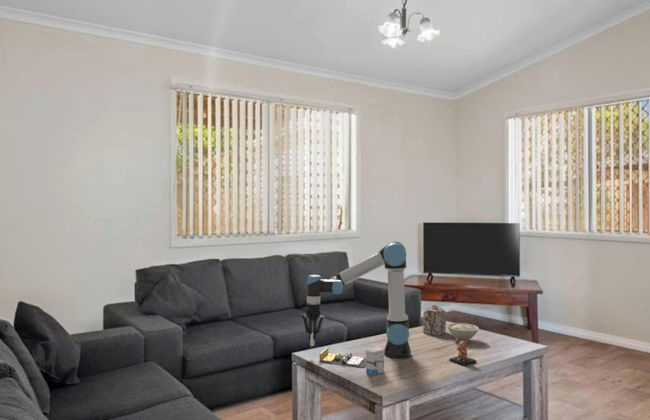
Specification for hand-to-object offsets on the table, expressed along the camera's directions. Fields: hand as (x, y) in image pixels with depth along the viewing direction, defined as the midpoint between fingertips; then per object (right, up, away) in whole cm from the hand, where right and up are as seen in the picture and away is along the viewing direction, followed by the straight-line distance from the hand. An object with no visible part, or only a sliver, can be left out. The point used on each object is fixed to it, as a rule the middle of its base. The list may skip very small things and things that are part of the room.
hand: (312, 345), depth 269 cm
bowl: (+93, -7, +35) cm, 100 cm away
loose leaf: (+11, -6, -4) cm, 13 cm away
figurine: (+82, -8, -5) cm, 83 cm away
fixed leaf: (+22, -7, -8) cm, 24 cm away
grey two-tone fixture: (+18, -7, -6) cm, 20 cm away
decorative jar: (+80, -7, +53) cm, 96 cm away
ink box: (+32, -8, -23) cm, 41 cm away
